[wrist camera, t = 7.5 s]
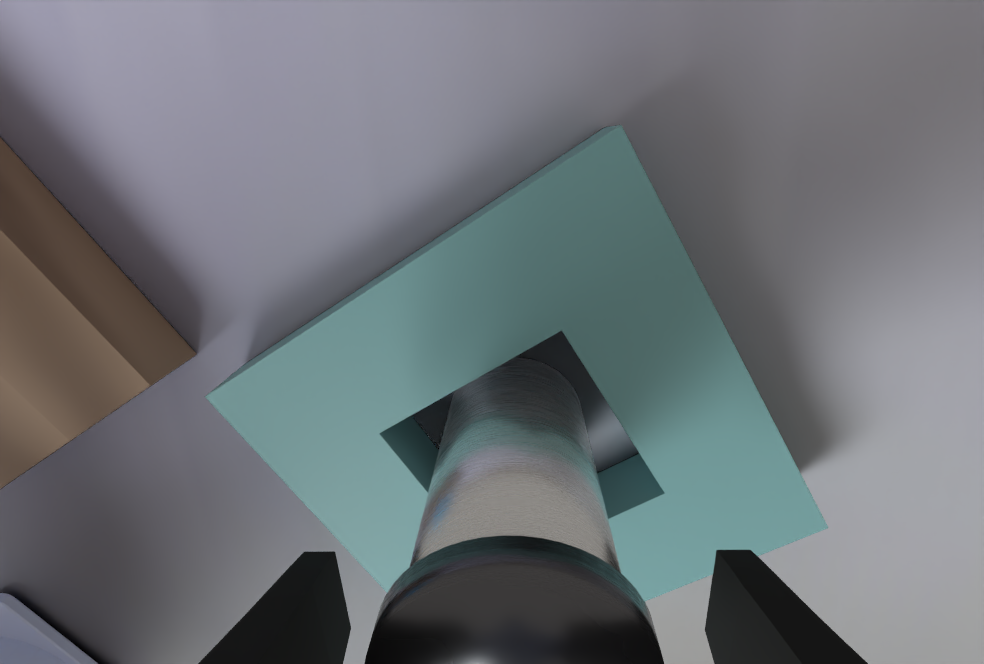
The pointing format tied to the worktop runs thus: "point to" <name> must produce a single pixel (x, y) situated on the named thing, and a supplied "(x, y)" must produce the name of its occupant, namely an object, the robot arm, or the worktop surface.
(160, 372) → the mount board
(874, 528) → the worktop surface
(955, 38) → the worktop surface
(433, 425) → the worktop surface
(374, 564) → the socket board
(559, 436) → the lock pin
